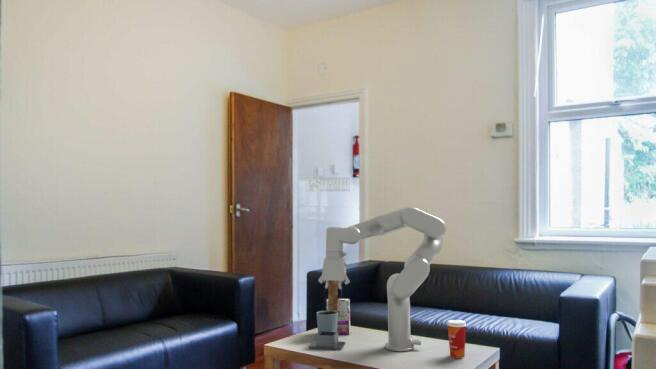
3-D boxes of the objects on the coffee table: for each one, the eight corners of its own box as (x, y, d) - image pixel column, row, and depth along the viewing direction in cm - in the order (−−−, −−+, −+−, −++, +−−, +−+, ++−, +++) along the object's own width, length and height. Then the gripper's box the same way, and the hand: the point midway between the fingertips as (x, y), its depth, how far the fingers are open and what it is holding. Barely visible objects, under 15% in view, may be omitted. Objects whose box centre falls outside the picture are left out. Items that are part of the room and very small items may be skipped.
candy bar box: (350, 332, 242) (350, 298, 243) (349, 335, 237) (348, 300, 238) (327, 331, 244) (327, 297, 244) (326, 334, 239) (325, 299, 239)
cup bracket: (345, 344, 221) (345, 331, 221) (340, 350, 211) (340, 337, 212) (314, 342, 224) (314, 330, 225) (308, 348, 215) (308, 335, 215)
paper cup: (445, 353, 205) (445, 319, 206) (464, 353, 205) (463, 319, 206) (449, 359, 198) (449, 323, 198) (469, 359, 197) (468, 323, 198)
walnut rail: (338, 309, 217) (339, 276, 218) (337, 310, 213) (337, 277, 214) (329, 308, 218) (330, 276, 218) (328, 310, 214) (328, 277, 215)
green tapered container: (314, 340, 227) (313, 314, 228) (319, 335, 237) (319, 309, 238) (335, 341, 225) (335, 315, 226) (340, 336, 235) (340, 310, 235)
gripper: (354, 255, 219) (354, 297, 218) (317, 253, 222) (316, 295, 221) (352, 256, 211) (351, 300, 210) (313, 255, 215) (312, 298, 214)
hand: (333, 297), depth 216 cm, fingers closed on walnut rail, 4 cm apart
